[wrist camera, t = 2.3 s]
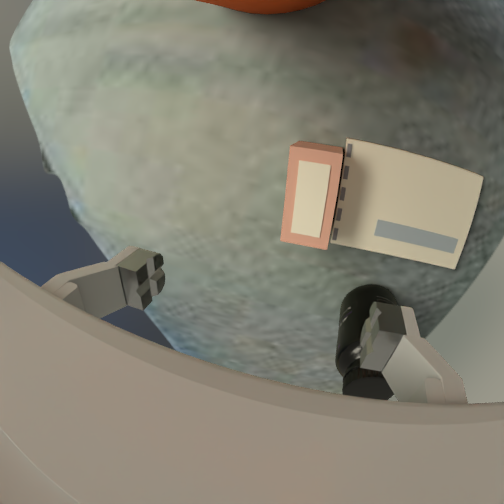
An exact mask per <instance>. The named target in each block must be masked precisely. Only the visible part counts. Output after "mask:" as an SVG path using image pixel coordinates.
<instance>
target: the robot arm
mask: <svg viewBox="0 0 504 504" xmlns="http://www.w3.org/2000/svg"><path fill="white" fill-rule="evenodd" d="M163 264H164V263H163V256H162V255H161V254H160V253H156V252H152V251H149V250H145V249H142V248H138V247H134V246H128V247H127V248H126V249H124V250H123V251H122V252H120V253H119V254H117V255H116V256H115V257H113V258H112V259H111V260H109V261H108V262H107V263H105V262H102V263H98V264H94V265H91V266H87V267H83V268H79V269H75V270H72V271H68V272H64V273H61V274H57V275H56V276H55V277H53V278H52V279H51V280H49V281H48V282H47V283H45V284H44V285H43V286H41V287H39V286H37V285H36V284H34V283H33V282H31V281H29V280H28V279H26V278H25V277H23V276H21V275H20V274H18V273H17V272H15V271H14V270H12V269H11V268H9V267H7V266H6V265H5V264H4V263H2V262H0V504H504V402H495V403H475V404H468V402H467V397H466V393H465V388H464V384H463V380H462V378H461V377H460V376H459V375H458V374H457V373H456V372H455V370H454V369H453V368H452V367H451V366H450V365H449V364H448V363H447V362H446V361H445V360H444V359H443V357H442V356H441V355H440V354H439V353H438V352H437V351H436V350H435V349H434V348H433V347H432V346H431V345H430V344H429V343H428V342H427V341H426V340H425V339H424V338H421V337H420V333H419V329H418V325H417V322H416V318H415V314H414V311H413V309H412V308H411V307H405V306H397V305H391V304H385V303H379V302H373V304H372V306H371V308H370V310H369V311H370V317H369V318H368V319H366V320H365V323H364V325H363V328H362V332H361V338H360V345H361V346H362V348H363V349H362V351H361V353H360V368H365V369H370V370H376V371H382V374H383V376H384V377H385V379H386V381H387V383H388V384H389V386H390V388H391V390H392V391H393V393H394V395H395V397H396V398H397V400H398V401H389V400H380V399H371V398H363V397H356V396H349V395H342V394H336V393H330V392H324V391H319V390H314V389H309V388H304V387H299V386H295V385H290V384H286V383H281V382H277V381H273V380H269V379H265V378H261V377H257V376H254V375H250V374H246V373H243V372H239V371H236V370H232V369H229V368H226V367H222V366H219V365H216V364H213V363H210V362H207V361H204V360H201V359H198V358H195V357H192V356H189V355H186V354H183V353H180V352H178V351H175V350H172V349H170V348H167V347H164V346H161V345H159V344H157V343H154V342H151V341H149V340H146V339H144V338H142V337H139V336H137V335H134V334H132V333H130V332H128V331H125V330H123V329H121V328H118V327H116V326H114V325H112V324H110V323H108V322H105V321H103V320H101V319H99V318H102V317H104V316H106V315H108V314H110V313H112V312H114V311H116V310H119V309H121V308H123V307H125V306H126V305H129V306H132V307H135V308H138V309H140V310H144V309H145V308H146V307H147V306H148V305H149V304H150V303H151V302H152V297H153V296H155V295H158V294H159V293H160V292H161V291H162V289H163V286H164V284H165V273H164V271H163V270H162V268H161V267H162V265H163Z"/></svg>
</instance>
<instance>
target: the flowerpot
mask: <svg viewBox="0 0 504 504" xmlns="http://www.w3.org/2000/svg"><path fill="white" fill-rule="evenodd" d="M196 1H201V2H206V3H210V4H214V5H218V6H222V7H226V8H230V9H233V10H237V11H242V12H247V13H254V14H279V13H288V12H293V11H298V10H302V9H305V8H308V7H311V6H315V5H317V4H319V3H321V2H323V1H325V0H196Z"/></svg>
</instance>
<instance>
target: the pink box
mask: <svg viewBox="0 0 504 504" xmlns="http://www.w3.org/2000/svg"><path fill="white" fill-rule="evenodd" d="M342 159H343V149H342V147H336V146H330V145H324V144H318V143H311V142H304V141H298V142H296V143H294V144H293V145H291V146H290V152H289V163H288V173H287V183H286V193H285V203H284V212H283V222H282V231H281V240H280V241H283V242H289V243H294V244H299V245H304V246H309V247H314V248H319V249H324V250H327V247H328V242H329V237H330V232H331V227H332V221H333V216H334V210H335V204H336V198H337V192H338V186H339V179H340V173H341V166H342Z"/></svg>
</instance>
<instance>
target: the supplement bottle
mask: <svg viewBox="0 0 504 504" xmlns="http://www.w3.org/2000/svg"><path fill="white" fill-rule="evenodd" d="M373 302H379V303H385V304H391V305H397V302H396V299H395V297H394V295H393V294H392V293H391V292H390V291H389V290H388V289H386V288H384V287H382V286H378V285H364V286H360V287H357V288H355V289H354V290H352V291H351V292H349V293H348V294H347V295H346V297H345V298H344V300H343V302H342V304H341V309H340V319H339V330H338V340H337V349H336V359H335V363H336V367H337V369H338V371H339V373H340V374H341V375H342V376H343V389H342V391H343V395H349V396H356V397H363V398H371V399H380V400H388V399H389V398H391V397H392V395H394V393H393V391H392V390H391V388H390V386H389V384H388V383H387V381H386V379H385V377H384V376H383V374H382V371H376V370H370V369H365V368H360V353H361V351H362V349H363V348H362V346H361V345H360V338H361V332H362V328H363V325H364V323H365V320H366V319H368V318H369V317H370V311H369V310H370V308H371V306H372V304H373Z"/></svg>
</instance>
